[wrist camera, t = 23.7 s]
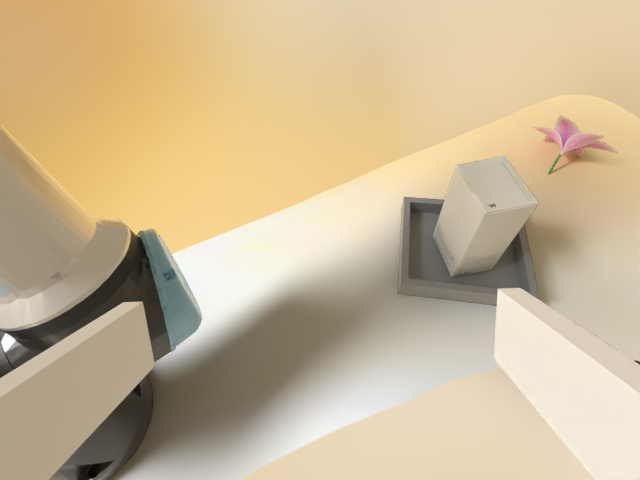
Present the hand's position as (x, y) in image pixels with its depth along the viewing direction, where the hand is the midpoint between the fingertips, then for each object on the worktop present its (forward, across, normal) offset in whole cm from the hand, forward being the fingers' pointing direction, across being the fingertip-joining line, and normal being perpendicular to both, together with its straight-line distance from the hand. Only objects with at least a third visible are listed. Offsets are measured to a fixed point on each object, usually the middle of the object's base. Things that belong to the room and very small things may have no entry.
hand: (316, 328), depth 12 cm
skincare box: (+38, +19, -8) cm, 44 cm away
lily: (+53, +42, +5) cm, 68 cm away
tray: (+39, +20, -8) cm, 45 cm away
